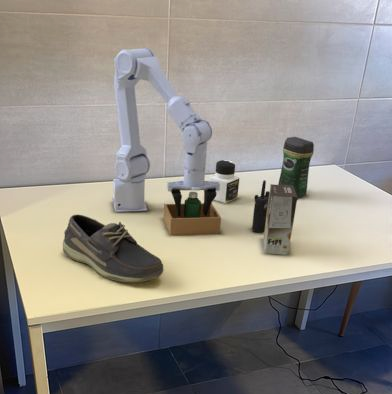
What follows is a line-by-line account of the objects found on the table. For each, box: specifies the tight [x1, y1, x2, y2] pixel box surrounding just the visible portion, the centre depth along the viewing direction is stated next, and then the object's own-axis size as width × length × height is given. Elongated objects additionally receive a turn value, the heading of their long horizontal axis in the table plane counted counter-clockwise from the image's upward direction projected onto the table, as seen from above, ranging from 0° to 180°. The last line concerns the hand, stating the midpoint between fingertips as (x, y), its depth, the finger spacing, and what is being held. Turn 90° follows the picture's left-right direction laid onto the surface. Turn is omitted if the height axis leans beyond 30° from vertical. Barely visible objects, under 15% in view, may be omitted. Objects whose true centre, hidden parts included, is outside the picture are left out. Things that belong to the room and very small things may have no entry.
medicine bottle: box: [208, 159, 241, 204], centre depth 173 cm, size 7×7×12 cm
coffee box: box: [262, 183, 299, 256], centre depth 142 cm, size 9×6×16 cm
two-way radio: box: [251, 179, 270, 233], centre depth 152 cm, size 6×4×15 cm
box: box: [163, 202, 222, 236], centre depth 154 cm, size 14×11×5 cm
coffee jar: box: [277, 136, 315, 199], centre depth 179 cm, size 10×8×19 cm
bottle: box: [183, 191, 202, 218], centre depth 152 cm, size 5×5×9 cm
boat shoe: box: [62, 214, 164, 283], centre depth 128 cm, size 11×29×11 cm, turn 58°
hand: (191, 214), depth 153 cm, fingers open, 7 cm apart
